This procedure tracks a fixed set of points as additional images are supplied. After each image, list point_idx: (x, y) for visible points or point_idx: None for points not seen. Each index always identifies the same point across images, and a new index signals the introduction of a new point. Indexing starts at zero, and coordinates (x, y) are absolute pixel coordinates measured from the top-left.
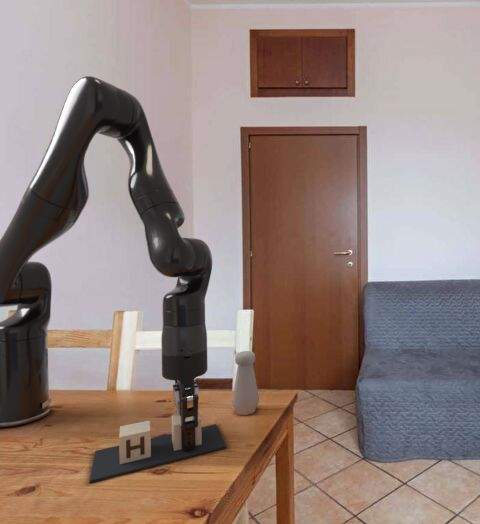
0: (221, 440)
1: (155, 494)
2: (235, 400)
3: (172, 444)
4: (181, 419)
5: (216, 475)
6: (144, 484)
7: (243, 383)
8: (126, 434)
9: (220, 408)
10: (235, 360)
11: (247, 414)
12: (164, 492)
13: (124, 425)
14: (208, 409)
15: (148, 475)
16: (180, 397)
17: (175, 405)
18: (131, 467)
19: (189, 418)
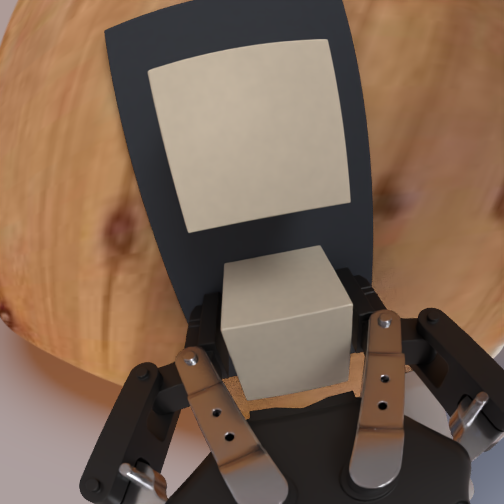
0: None
1: (30, 242)
2: (406, 406)
3: (281, 251)
4: (185, 386)
5: (94, 351)
6: (63, 204)
7: None
8: (170, 101)
9: None
10: None
11: None
12: (36, 260)
13: (331, 61)
14: (469, 309)
15: (102, 203)
16: (206, 481)
17: (366, 357)
18: (144, 136)
19: (279, 371)
